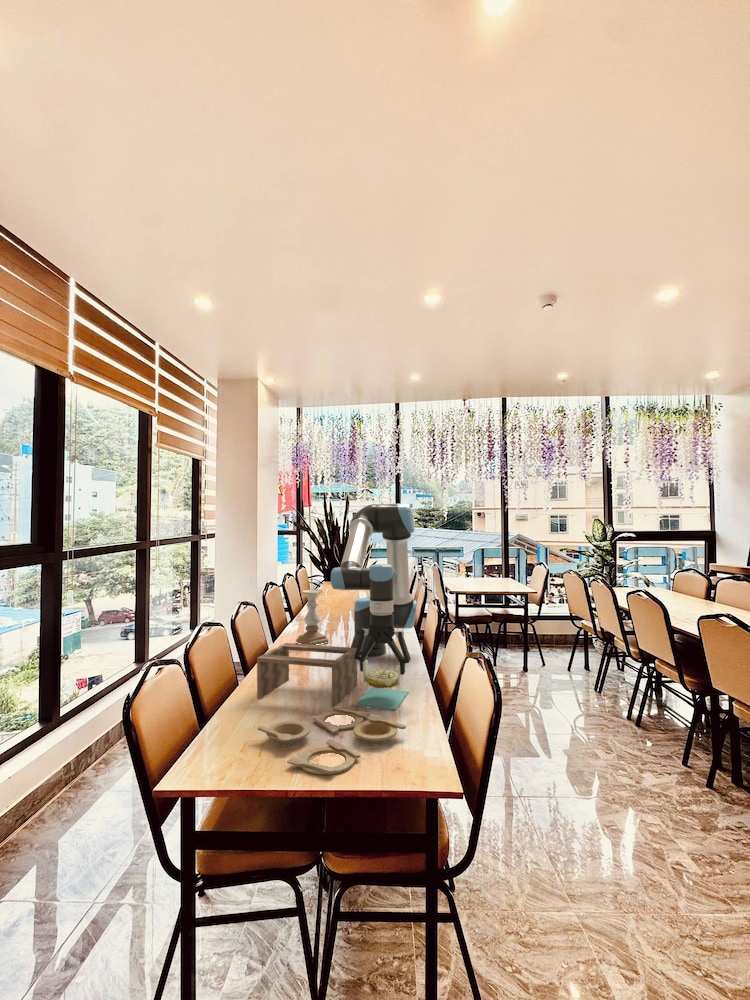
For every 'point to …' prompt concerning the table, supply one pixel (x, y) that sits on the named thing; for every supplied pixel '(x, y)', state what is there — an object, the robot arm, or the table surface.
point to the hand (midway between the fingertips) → (382, 683)
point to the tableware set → (367, 731)
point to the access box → (277, 665)
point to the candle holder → (312, 621)
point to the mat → (382, 698)
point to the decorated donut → (382, 678)
